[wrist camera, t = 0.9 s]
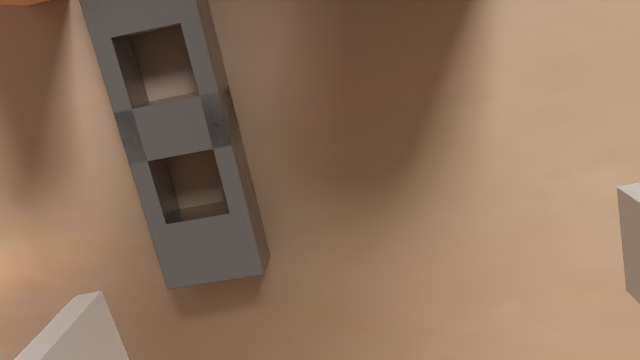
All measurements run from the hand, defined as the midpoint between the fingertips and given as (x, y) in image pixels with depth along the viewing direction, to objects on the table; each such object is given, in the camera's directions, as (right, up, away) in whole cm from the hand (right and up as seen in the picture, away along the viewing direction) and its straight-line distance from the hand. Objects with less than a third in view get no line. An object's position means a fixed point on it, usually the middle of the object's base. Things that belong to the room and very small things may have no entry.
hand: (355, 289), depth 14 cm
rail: (-10, +7, +24) cm, 27 cm away
